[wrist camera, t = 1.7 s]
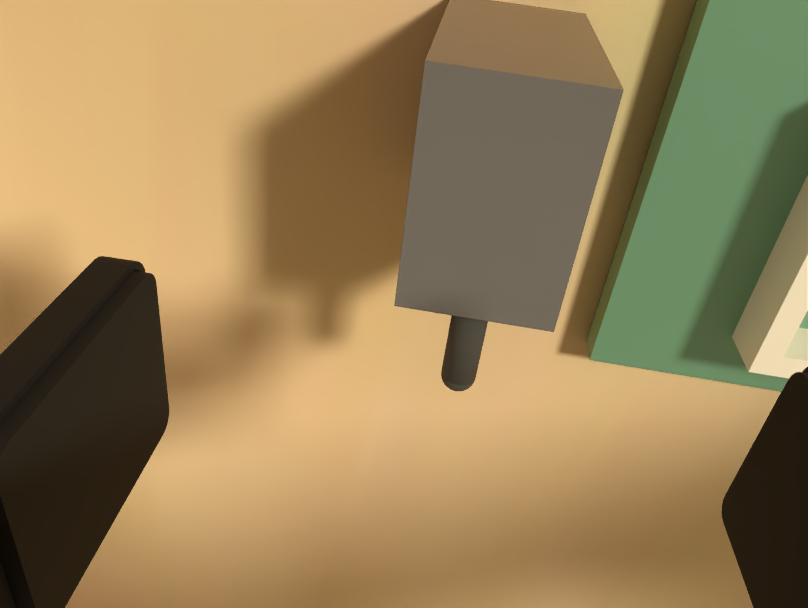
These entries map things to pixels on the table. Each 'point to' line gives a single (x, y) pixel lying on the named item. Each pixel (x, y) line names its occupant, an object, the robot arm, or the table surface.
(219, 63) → the table surface
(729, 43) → the circuit board
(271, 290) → the table surface
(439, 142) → the plug
